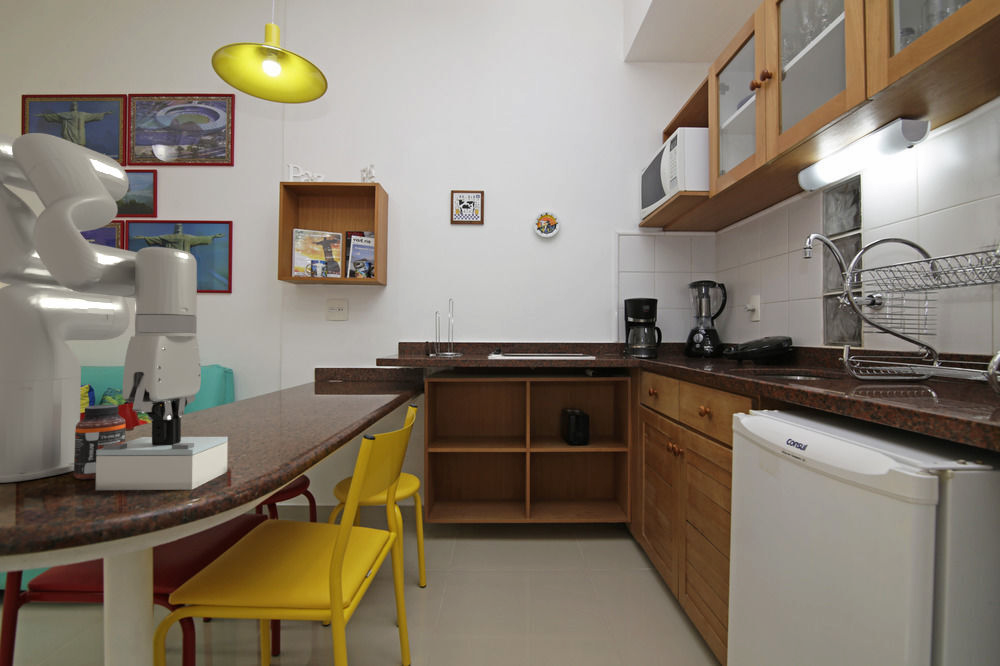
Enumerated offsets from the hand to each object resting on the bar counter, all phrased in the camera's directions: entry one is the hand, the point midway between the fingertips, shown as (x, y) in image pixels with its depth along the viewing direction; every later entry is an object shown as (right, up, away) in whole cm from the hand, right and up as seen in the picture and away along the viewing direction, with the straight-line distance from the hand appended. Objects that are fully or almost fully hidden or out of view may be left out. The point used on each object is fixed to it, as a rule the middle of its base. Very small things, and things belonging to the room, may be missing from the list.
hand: (166, 444), depth 63 cm
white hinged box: (-1, -6, 0) cm, 6 cm away
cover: (-1, -1, +1) cm, 1 cm away
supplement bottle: (-14, -6, +3) cm, 15 cm away
